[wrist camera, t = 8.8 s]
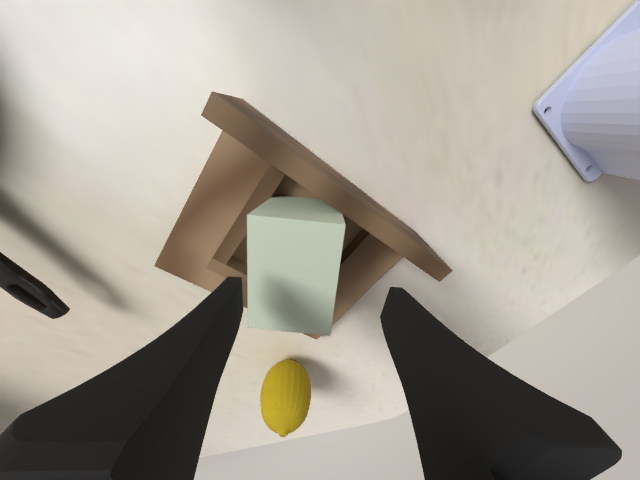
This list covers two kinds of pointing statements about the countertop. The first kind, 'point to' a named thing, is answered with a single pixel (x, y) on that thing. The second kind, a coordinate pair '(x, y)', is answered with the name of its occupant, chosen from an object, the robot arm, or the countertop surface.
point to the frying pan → (29, 289)
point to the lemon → (285, 397)
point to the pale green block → (293, 264)
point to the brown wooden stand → (279, 179)
